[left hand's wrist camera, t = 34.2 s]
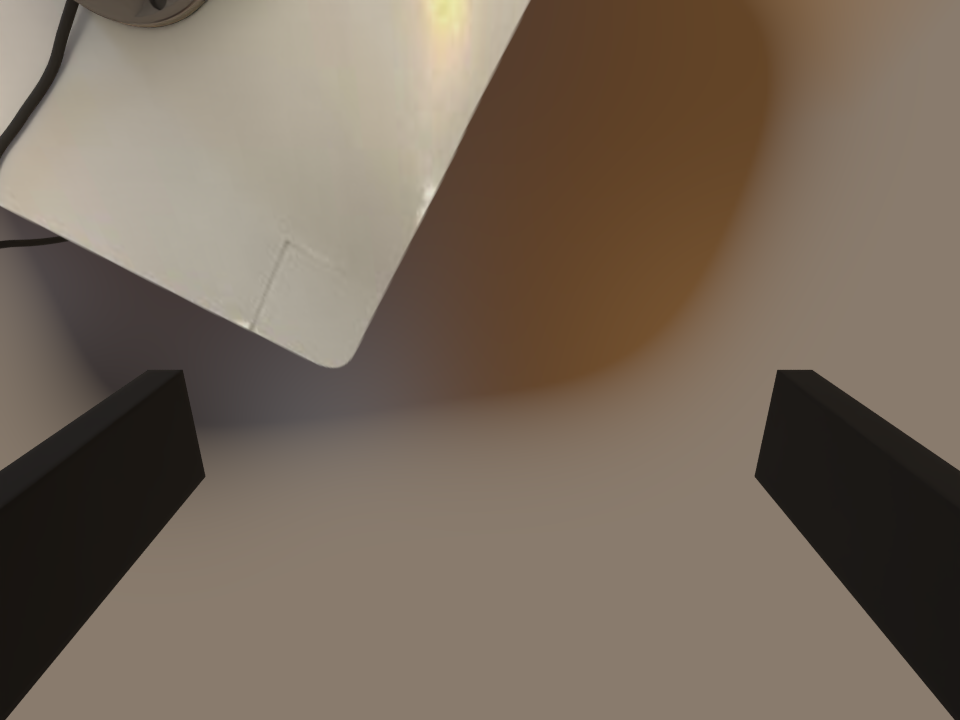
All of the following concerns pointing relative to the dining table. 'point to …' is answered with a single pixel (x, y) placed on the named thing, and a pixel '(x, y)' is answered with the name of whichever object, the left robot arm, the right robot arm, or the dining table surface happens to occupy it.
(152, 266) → the dining table surface
